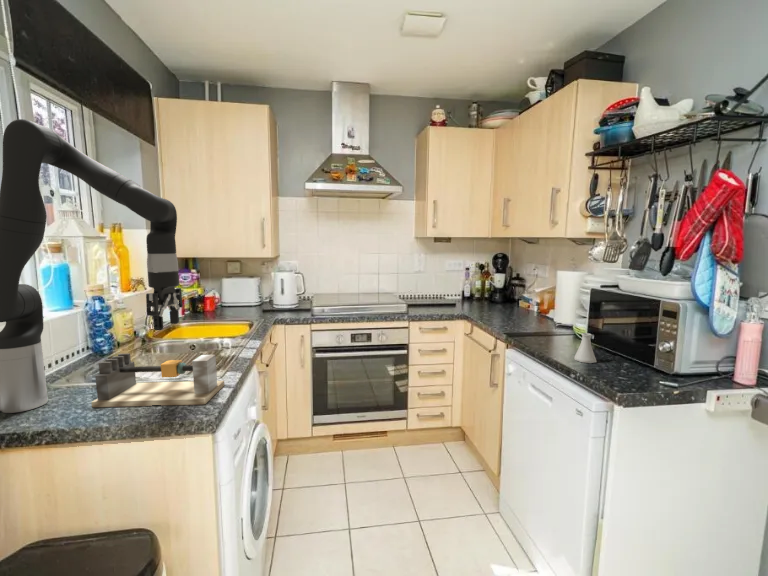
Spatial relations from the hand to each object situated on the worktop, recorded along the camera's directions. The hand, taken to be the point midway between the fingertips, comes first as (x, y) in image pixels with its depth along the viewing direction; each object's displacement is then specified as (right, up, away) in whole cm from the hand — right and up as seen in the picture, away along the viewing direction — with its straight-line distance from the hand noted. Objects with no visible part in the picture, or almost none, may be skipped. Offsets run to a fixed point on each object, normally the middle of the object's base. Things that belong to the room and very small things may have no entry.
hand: (167, 326), depth 107 cm
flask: (+136, -16, +30) cm, 140 cm away
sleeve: (+1, -14, +1) cm, 14 cm away
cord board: (-2, -20, +2) cm, 20 cm away
